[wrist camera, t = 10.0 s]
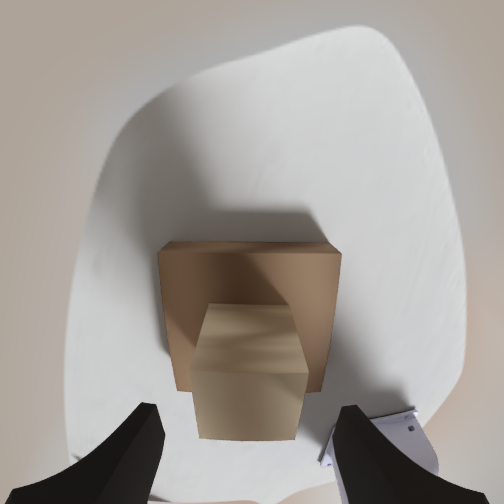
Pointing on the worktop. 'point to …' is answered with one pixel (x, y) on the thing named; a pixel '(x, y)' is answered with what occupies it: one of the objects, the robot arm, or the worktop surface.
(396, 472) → the robot arm
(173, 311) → the walnut block
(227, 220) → the worktop surface
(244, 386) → the birch block
